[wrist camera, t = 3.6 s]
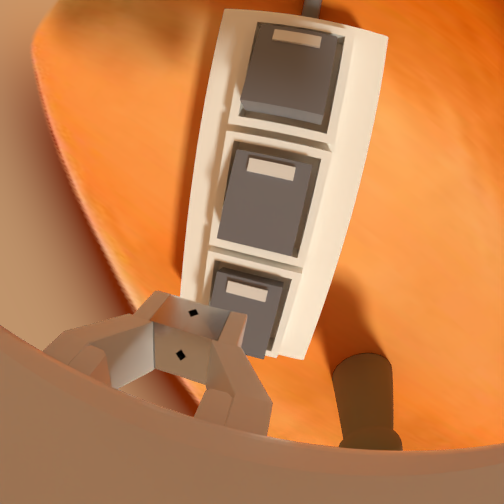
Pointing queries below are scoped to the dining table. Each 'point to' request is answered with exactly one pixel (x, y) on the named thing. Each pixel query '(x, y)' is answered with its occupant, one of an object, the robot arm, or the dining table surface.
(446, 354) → the dining table surface
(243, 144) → the switch strip
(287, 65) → the rocker
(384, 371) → the cork
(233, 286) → the rocker
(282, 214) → the rocker
